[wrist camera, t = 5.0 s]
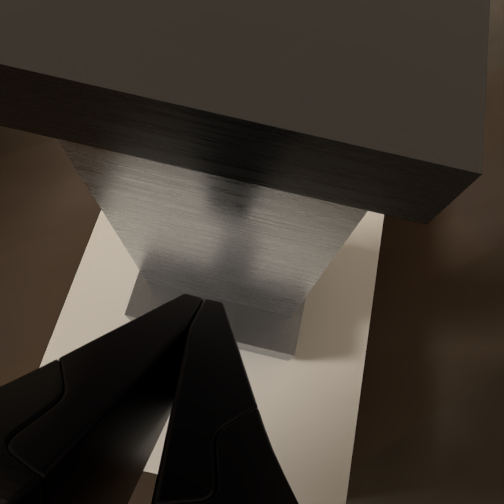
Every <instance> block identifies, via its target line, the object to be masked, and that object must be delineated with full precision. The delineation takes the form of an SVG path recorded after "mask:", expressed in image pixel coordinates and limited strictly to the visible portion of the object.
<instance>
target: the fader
mask: <svg viewBox="0 0 504 504" xmlns="http://www.w3.org/2000/svg"><path fill="white" fill-rule="evenodd" d="M489 11H490V0H0V126H5V127H9V128H13V129H18V130H22V131H26V132H31V133H35V134H39V135H44V136H48V137H52V138H56V139H58V141H59V142H60V144H61V146H62V147H63V149H64V150H65V152H66V154H67V155H68V157H69V158H70V160H71V162H72V163H73V165H74V166H75V168H76V170H77V171H78V173H79V174H80V176H81V178H82V179H83V181H84V182H85V184H86V186H87V187H88V189H89V190H90V192H91V194H92V195H93V197H94V198H95V200H96V202H97V203H98V205H99V206H100V208H101V210H102V211H103V213H104V214H105V216H106V218H107V219H108V221H109V222H110V224H111V226H112V227H113V229H114V230H115V232H116V234H117V235H118V237H119V238H120V240H121V241H122V243H123V245H124V246H125V248H126V249H127V251H128V253H129V254H130V256H131V257H132V259H133V261H134V262H135V264H136V265H137V267H138V269H139V273H138V276H137V279H136V282H135V285H134V288H133V291H132V294H131V297H130V300H129V303H128V306H127V309H126V312H125V316H126V317H127V318H128V319H130V320H131V321H132V320H133V319H135V318H137V317H139V316H141V315H143V314H145V313H147V312H149V311H151V310H153V309H155V308H157V307H159V306H161V305H162V304H164V303H166V302H168V301H170V300H172V299H174V298H176V297H178V296H180V295H182V294H185V293H186V294H191V295H195V296H199V297H202V299H203V300H204V299H211V300H216V301H220V302H223V303H224V306H225V309H226V312H227V315H228V318H229V321H230V324H231V327H232V330H233V333H234V336H235V339H236V342H237V345H238V348H239V349H241V350H245V351H249V352H253V353H257V354H261V355H265V356H270V357H274V358H278V359H282V360H286V361H289V360H290V359H291V358H293V357H294V356H295V352H296V347H297V341H298V336H299V331H300V326H301V320H302V315H303V310H304V305H305V299H306V296H307V294H308V293H309V292H310V290H311V289H312V287H313V286H314V285H315V283H316V282H317V281H318V279H319V278H320V276H321V275H322V274H323V272H324V271H325V269H326V268H327V267H328V265H329V264H330V263H331V261H332V260H333V258H334V257H335V256H336V254H337V253H338V251H339V250H340V249H341V247H342V246H343V245H344V243H345V242H346V240H347V239H348V238H349V236H350V235H351V233H352V232H353V231H354V229H355V228H356V227H357V225H358V224H359V222H360V221H361V220H362V218H363V217H364V215H365V214H366V213H367V211H371V212H375V213H380V214H384V215H388V216H393V217H397V218H401V219H406V220H410V221H414V222H419V223H423V224H428V223H429V222H430V221H431V220H432V219H433V218H434V217H435V216H437V215H438V214H439V213H440V212H441V211H442V210H443V209H444V208H445V207H446V206H448V205H449V204H450V203H451V202H452V201H453V200H454V199H455V198H456V197H457V196H459V195H460V194H461V193H462V192H463V191H464V190H465V189H466V188H467V187H468V186H469V185H471V184H472V183H473V182H474V181H475V180H476V179H477V178H478V177H479V176H480V175H482V164H483V142H484V120H485V98H486V76H487V54H488V32H489Z"/></svg>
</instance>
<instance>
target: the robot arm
mask: <svg viewBox="0 0 504 504" xmlns="http://www.w3.org/2000/svg"><path fill="white" fill-rule="evenodd" d="M257 408H258V406H257V403H256V400H255V397H254V394H253V391H252V388H251V385H250V382H249V379H248V376H247V373H246V370H245V367H244V363H243V360H242V357H241V354H240V351H239V348H238V345H237V342H236V339H235V336H234V333H233V330H232V327H231V324H230V321H229V318H228V315H227V312H226V309H225V306H224V303H223V302H220V301H216V300H211V299H204V300H203V299H202V297H199V296H195V295H191V294H186V293H185V294H182V295H180V296H178V297H176V298H174V299H172V300H170V301H168V302H166V303H164V304H162V305H161V306H159V307H157V308H155V309H153V310H151V311H149V312H147V313H145V314H143V315H141V316H139V317H137V318H135V319H133V320H132V321H130V322H128V323H126V324H124V325H122V326H120V327H118V328H116V329H114V330H112V331H110V332H108V333H106V334H104V335H102V336H101V337H99V338H97V339H95V340H93V341H91V342H89V343H87V344H85V345H83V346H81V347H79V348H77V349H75V350H73V351H72V352H70V353H68V354H66V355H64V356H62V357H60V358H59V360H54V361H52V362H50V363H48V364H46V365H44V366H42V367H40V368H38V369H36V370H34V371H32V372H30V373H28V374H26V375H24V376H22V377H20V378H18V379H16V380H14V381H12V382H10V383H7V384H5V385H3V386H0V504H128V502H129V500H130V497H131V495H132V493H133V491H134V489H135V487H136V485H137V483H138V481H139V479H140V476H141V474H142V472H143V470H144V468H145V466H146V464H147V462H148V460H149V458H150V455H151V453H152V451H153V449H154V447H155V445H156V443H157V441H158V439H159V436H160V434H161V432H162V430H163V428H164V426H165V424H166V422H167V420H168V418H169V422H168V427H167V432H166V436H165V441H164V446H163V451H162V455H161V460H160V465H159V470H158V474H157V479H156V484H155V489H154V493H153V498H152V503H151V504H299V503H298V501H297V499H296V497H295V495H294V493H293V491H292V489H291V487H290V485H289V483H288V481H287V479H286V477H285V475H284V472H283V470H282V468H281V466H280V464H279V462H278V459H277V457H276V455H275V453H274V451H273V448H272V446H271V443H270V440H269V437H268V435H267V432H266V429H265V427H264V424H263V421H262V418H261V415H260V412H259V410H258V409H257ZM169 415H170V417H169Z"/></svg>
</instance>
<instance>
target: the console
mask: <svg viewBox="0 0 504 504" xmlns="http://www.w3.org/2000/svg"><path fill="white" fill-rule="evenodd" d="M383 220H384V214H380V213H375V212H371V211H367V213H366V214H365V215H364V217H363V218H362V220H361V221H360V222H359V224H358V225H357V227H356V228H355V229H354V231H353V232H352V233H351V235H350V236H349V238H348V239H347V240H346V242H345V243H344V245H343V246H342V247H341V249H340V250H339V251H338V253H337V254H336V256H335V257H334V258H333V260H332V261H331V263H330V264H329V265H328V267H327V268H326V269H325V271H324V272H323V274H322V275H321V276H320V278H319V279H318V281H317V282H316V283H315V285H314V286H313V287H312V289H311V290H310V292H309V293H308V294H307V296H306V299H305V305H304V310H303V315H302V320H301V326H300V331H299V336H298V341H297V347H296V352H295V356H294V357H293V358H291V359H290V360H289V361H286V360H282V359H278V358H274V357H270V356H265V355H261V354H257V353H253V352H249V351H245V350H241V349H239V351H240V354H241V357H242V360H243V363H244V367H245V370H246V373H247V376H248V379H249V382H250V385H251V388H252V391H253V394H254V397H255V400H256V403H257V406H258V408H257V409H258V410H259V412H260V415H261V418H262V421H263V424H264V427H265V429H266V432H267V435H268V437H269V440H270V443H271V446H272V448H273V451H274V453H275V455H276V457H277V459H278V462H279V464H280V466H281V468H282V470H283V472H284V475H285V477H286V479H287V481H288V483H289V485H290V487H291V489H292V491H293V493H294V495H295V497H296V499H297V501H298V503H299V504H346V498H347V490H348V483H349V475H350V468H351V460H352V453H353V445H354V438H355V430H356V423H357V415H358V408H359V400H360V393H361V385H362V378H363V370H364V363H365V355H366V348H367V340H368V333H369V325H370V318H371V310H372V302H373V295H374V287H375V280H376V272H377V265H378V257H379V250H380V242H381V235H382V227H383ZM138 273H139V269H138V267H137V265H136V264H135V262H134V261H133V259H132V257H131V256H130V254H129V253H128V251H127V249H126V248H125V246H124V245H123V243H122V241H121V240H120V238H119V237H118V235H117V234H116V232H115V230H114V229H113V227H112V226H111V224H110V222H109V221H108V219H107V218H106V216H105V214H104V213H103V211H102V210H101V212H100V214H99V217H98V220H97V222H96V225H95V227H94V230H93V232H92V235H91V237H90V240H89V243H88V245H87V248H86V250H85V253H84V255H83V258H82V260H81V263H80V265H79V268H78V271H77V273H76V276H75V278H74V281H73V283H72V286H71V288H70V291H69V294H68V296H67V299H66V301H65V304H64V306H63V309H62V311H61V314H60V317H59V319H58V322H57V324H56V327H55V329H54V332H53V334H52V337H51V339H50V342H49V345H48V347H47V350H46V352H45V355H44V357H43V360H42V362H41V365H40V367H42V366H44V365H46V364H48V363H50V362H52V361H54V360H59V358H60V357H62V356H64V355H66V354H68V353H70V352H72V351H73V350H75V349H77V348H79V347H81V346H83V345H85V344H87V343H89V342H91V341H93V340H95V339H97V338H99V337H101V336H102V335H104V334H106V333H108V332H110V331H112V330H114V329H116V328H118V327H120V326H122V325H124V324H126V323H128V322H130V321H131V320H130V319H128V318H127V317H126V316H125V312H126V309H127V306H128V303H129V300H130V297H131V294H132V291H133V288H134V285H135V282H136V279H137V276H138ZM169 417H170V415H169ZM168 422H169V418H168V420H167V422H166V424H165V426H164V428H163V430H162V432H161V434H160V436H159V439H158V441H157V443H156V445H155V447H154V449H153V451H152V453H151V455H150V458H149V460H148V462H147V464H146V466H145V468H144V470H143V471H146V472H150V473H154V474H158V470H159V465H160V460H161V455H162V451H163V446H164V441H165V436H166V432H167V427H168Z"/></svg>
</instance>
